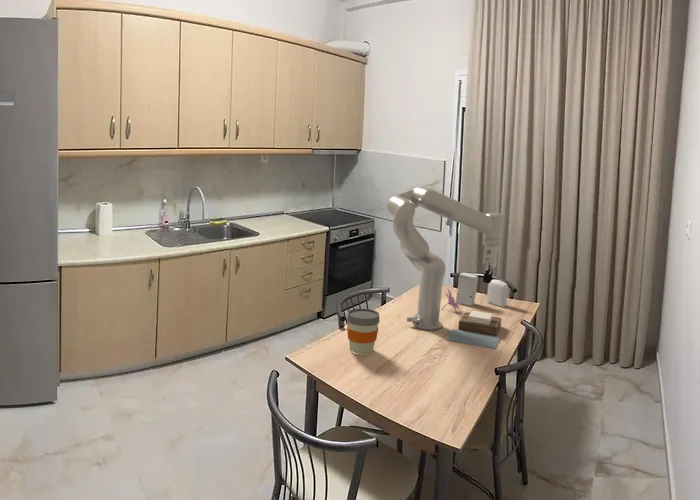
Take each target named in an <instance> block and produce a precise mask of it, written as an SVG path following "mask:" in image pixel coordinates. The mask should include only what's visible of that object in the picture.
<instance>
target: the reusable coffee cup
mask: <svg viewBox="0 0 700 500" xmlns="http://www.w3.org/2000/svg"><path fill="white" fill-rule="evenodd" d="M346 321H347V326H346V331H347V339H348V343H349V344H348V345H349V351H350V350H351V351H353V352H355V353H358V354H368V355H370V354H369V353H371V352H372V353H374V347H375V344H376V342H375V341H377V339H378V334H379V327H378V326H379V324H380V312H378V311H377V310H374V309H371V308H353V309H350V310H349V311H347V317H346ZM351 351H350V352H351ZM372 353H371V354H372ZM358 354H357V355H358Z"/></svg>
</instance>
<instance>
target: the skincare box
mask: <svg viewBox="0 0 700 500" xmlns="http://www.w3.org/2000/svg"><path fill="white" fill-rule="evenodd" d="M478 279H479V276H478V275H477V274H473V273H469V272H468V273H467V272H461V273H459V276H458V282H457V289H456V297H455V302H456V303H457V305H458V304H459V305H464V306H468V307H472V306H473V305H475V300H476V293H477V287H478Z"/></svg>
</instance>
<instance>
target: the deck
mask: <svg viewBox="0 0 700 500" xmlns="http://www.w3.org/2000/svg"><path fill="white" fill-rule="evenodd" d="M470 313H471V312H466V311H465V312H464V313H463V315H462V316H461V318H460V319H459V321H458V329H457V330H463V331H469V332H474V333H480V334H486V335H491V336H498V335H497V334H498V333H499V331H500V330H501V326H502V317H496V316H492V320H491V322H490V324H489V325H486V324H480V323H475V322H469V321H468V317H469V315H470Z"/></svg>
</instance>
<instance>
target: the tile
mask: <svg viewBox="0 0 700 500" xmlns="http://www.w3.org/2000/svg"><path fill="white" fill-rule="evenodd" d="M469 313H470V315H469V317H468V321H469V322H475V323H480V324H486V325H489V324H490V322H491V320H492V317H493V313H488V312H482V311H478V310H477V311H475V310H471V312H469Z"/></svg>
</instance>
